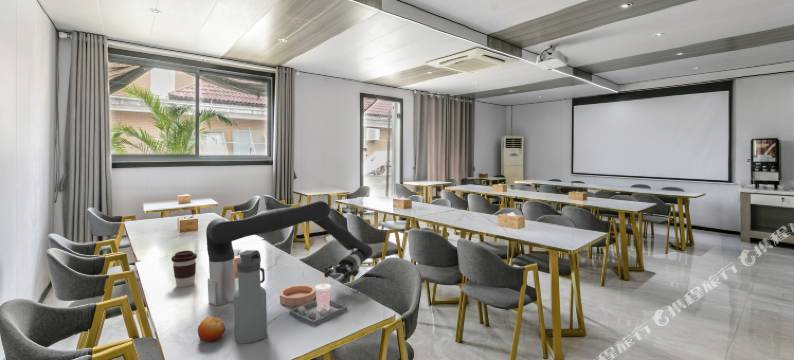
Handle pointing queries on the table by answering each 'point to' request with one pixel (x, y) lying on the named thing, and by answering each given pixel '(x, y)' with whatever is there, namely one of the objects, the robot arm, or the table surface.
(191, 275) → the coffee cup
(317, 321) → the tray
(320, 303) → the beverage cup
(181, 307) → the table surface
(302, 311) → the pebble
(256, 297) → the water bottle
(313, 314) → the pebble
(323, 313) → the pebble
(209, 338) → the fruit
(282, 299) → the bowl
